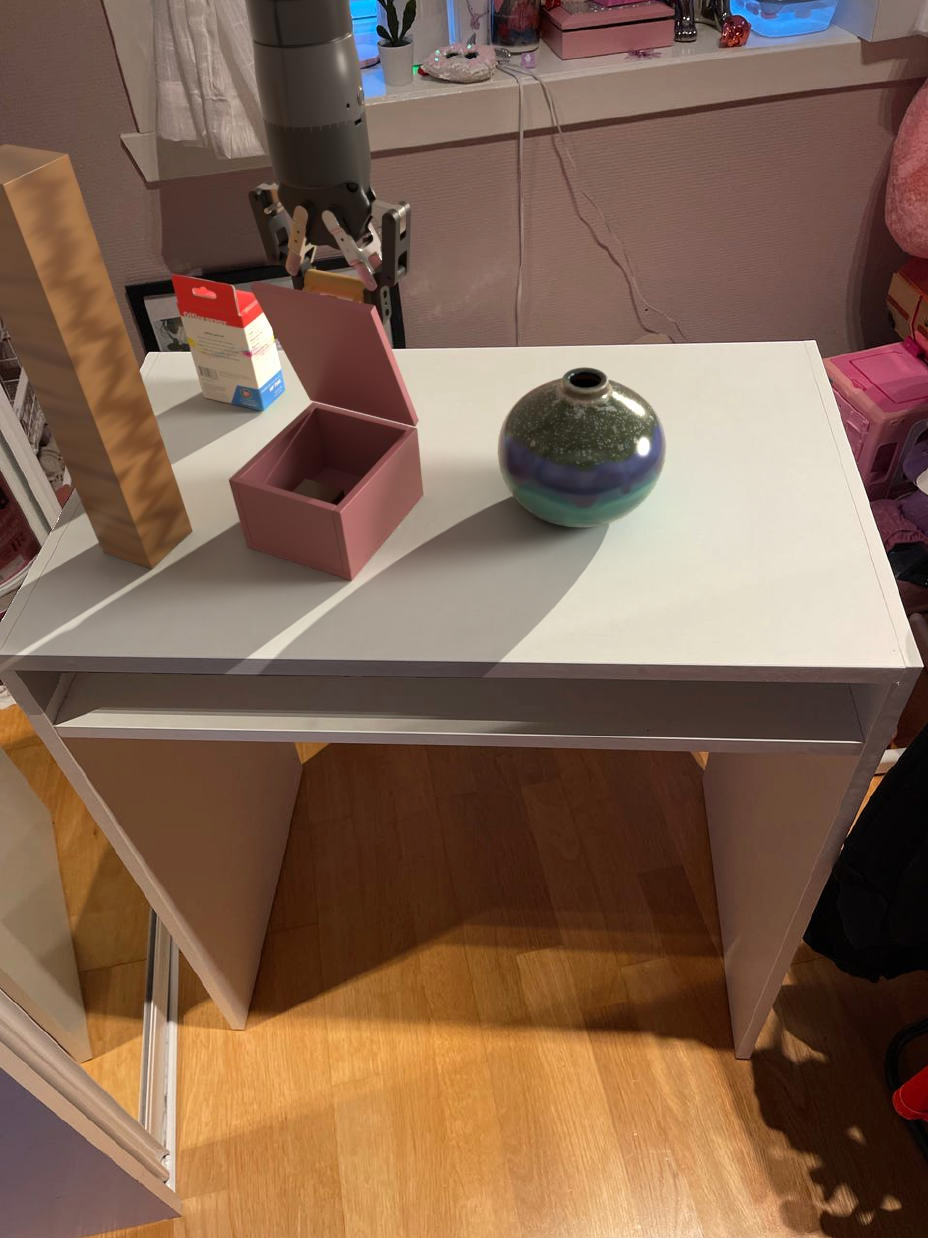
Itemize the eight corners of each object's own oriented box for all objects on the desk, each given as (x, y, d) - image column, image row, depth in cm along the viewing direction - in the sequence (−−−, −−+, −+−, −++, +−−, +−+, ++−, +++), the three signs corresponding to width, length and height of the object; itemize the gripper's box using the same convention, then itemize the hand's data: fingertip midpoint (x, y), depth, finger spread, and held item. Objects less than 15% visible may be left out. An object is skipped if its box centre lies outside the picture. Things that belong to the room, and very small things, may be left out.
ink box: (287, 391, 104) (261, 266, 93) (263, 413, 101) (234, 287, 90) (226, 377, 107) (195, 254, 96) (201, 398, 104) (166, 274, 93)
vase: (467, 516, 87) (461, 394, 77) (550, 437, 95) (554, 319, 86) (609, 575, 80) (622, 450, 71) (685, 484, 89) (705, 362, 79)
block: (326, 551, 83) (319, 515, 80) (288, 539, 84) (279, 504, 81) (349, 524, 85) (343, 488, 82) (312, 513, 87) (305, 478, 84)
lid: (370, 312, 70) (396, 267, 72) (249, 287, 74) (277, 245, 76) (415, 427, 83) (436, 386, 85) (310, 400, 87) (332, 362, 89)
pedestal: (152, 569, 83) (2, 184, 59) (102, 552, 85) (-62, 172, 61) (193, 530, 87) (68, 153, 63) (144, 515, 89) (5, 143, 65)
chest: (352, 581, 81) (340, 512, 75) (246, 546, 85) (228, 479, 79) (423, 495, 89) (417, 427, 84) (324, 467, 93) (312, 401, 88)
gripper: (202, 111, 66) (251, 324, 78) (371, 132, 61) (396, 356, 73) (262, 80, 71) (300, 286, 83) (424, 98, 66) (439, 314, 78)
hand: (345, 318), depth 78 cm, fingers closed on lid, 6 cm apart
